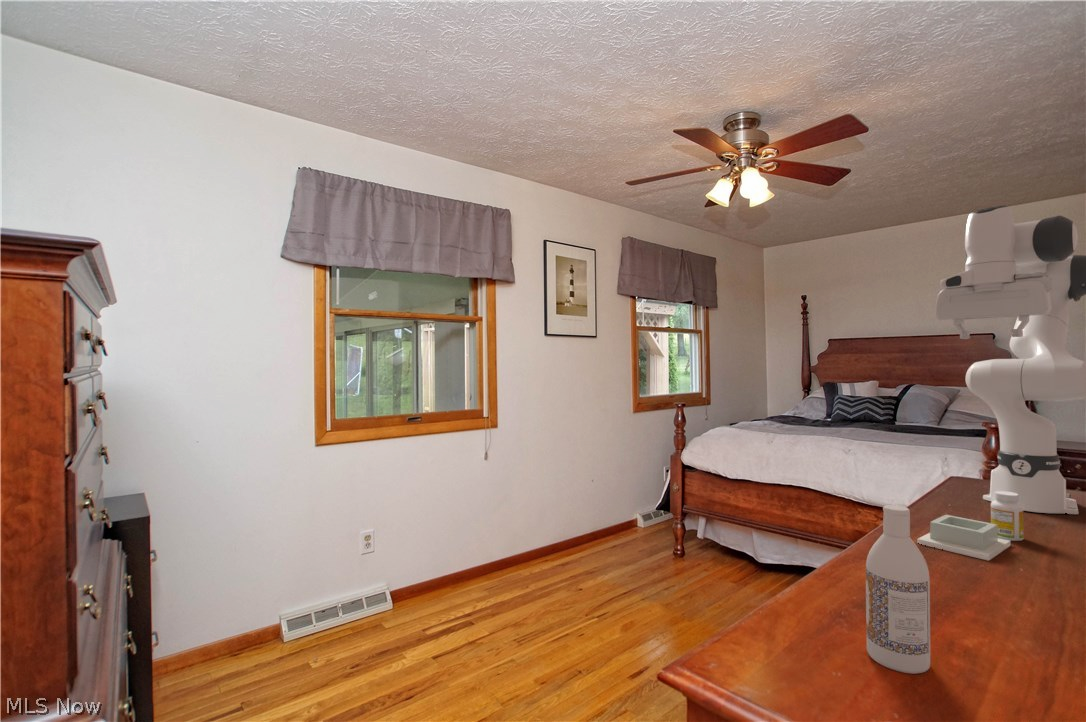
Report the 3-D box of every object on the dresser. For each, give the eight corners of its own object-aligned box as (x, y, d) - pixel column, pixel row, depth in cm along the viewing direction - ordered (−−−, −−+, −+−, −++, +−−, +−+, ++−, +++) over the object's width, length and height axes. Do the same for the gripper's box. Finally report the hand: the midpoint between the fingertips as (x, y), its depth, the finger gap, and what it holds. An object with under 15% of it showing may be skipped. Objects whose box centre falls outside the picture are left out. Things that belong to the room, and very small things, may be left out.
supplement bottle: (1010, 533, 118) (1010, 490, 118) (1030, 541, 113) (1030, 496, 113) (984, 533, 119) (984, 489, 119) (1003, 541, 113) (1002, 496, 113)
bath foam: (871, 640, 74) (869, 497, 74) (932, 657, 70) (931, 506, 70) (862, 662, 69) (860, 508, 69) (928, 682, 64) (926, 518, 64)
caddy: (942, 530, 120) (942, 511, 120) (1010, 545, 111) (1010, 524, 111) (917, 543, 112) (917, 522, 112) (988, 560, 102) (988, 537, 102)
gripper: (1055, 272, 114) (1056, 336, 114) (942, 284, 131) (942, 339, 131) (1048, 269, 110) (1048, 335, 110) (932, 282, 127) (933, 339, 127)
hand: (990, 337), depth 121 cm, fingers open, 8 cm apart
